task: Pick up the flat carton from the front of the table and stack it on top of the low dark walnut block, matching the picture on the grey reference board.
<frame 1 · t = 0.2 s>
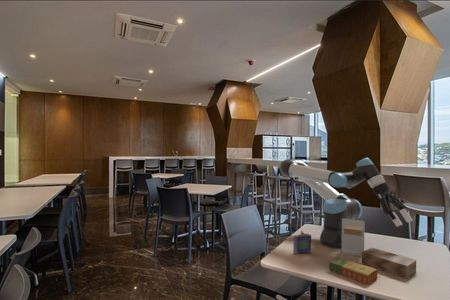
hand: (405, 223, 132), 15 cm above the table, tool tilted 35°, fingers open, 13 cm apart
reference board: (352, 253, 133), on the table
flask: (301, 253, 133), on the table
carton: (352, 275, 111), on the table
walnut block: (387, 267, 118), on the table
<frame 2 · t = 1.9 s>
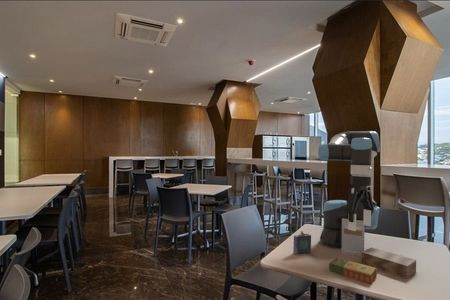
hand: (359, 227, 111), 19 cm above the table, tool pointing down, fingers open, 13 cm apart
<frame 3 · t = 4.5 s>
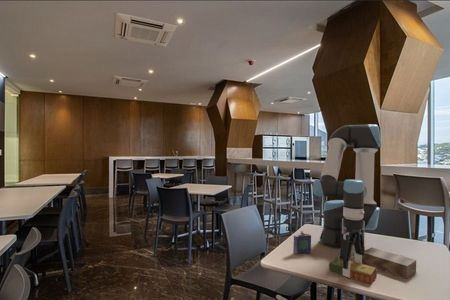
hand: (352, 273, 111), 0 cm above the table, tool pointing down, fingers closed on carton, 9 cm apart
carton: (352, 275, 111), on the table, touching gripper
everything else where it was.
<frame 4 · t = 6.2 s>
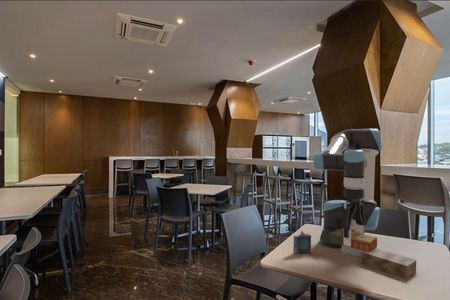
hand: (352, 242, 111), 13 cm above the table, tool pointing down, fingers closed on carton, 9 cm apart
carton: (352, 245, 111), point 12 cm above the table, touching gripper
everything else where it was.
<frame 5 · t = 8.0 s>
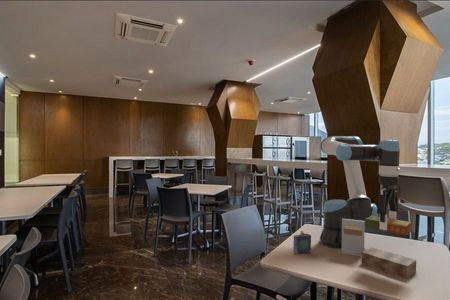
hand: (387, 227, 118), 17 cm above the table, tool pointing down, fingers closed on carton, 9 cm apart
carton: (387, 230, 118), point 16 cm above the table, touching gripper
everything else where it was.
when the fingers open (7 cm above the table, at t = 10.4 s): carton drops 2 cm, resting on walnut block.
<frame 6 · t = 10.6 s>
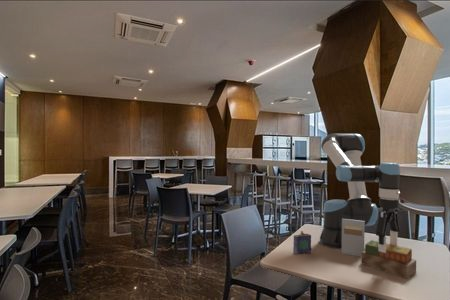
hand: (388, 248, 118), 8 cm above the table, tool pointing down, fingers open, 11 cm apart
carton: (387, 256, 118), point 5 cm above the table, touching walnut block
everything else where it was.
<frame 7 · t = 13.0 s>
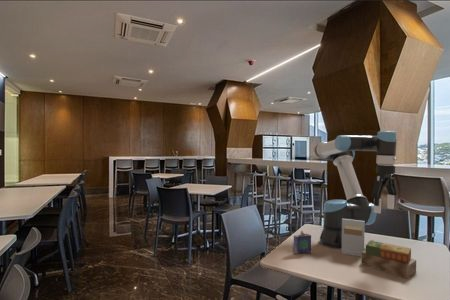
hand: (384, 210, 125), 23 cm above the table, tool pointing down, fingers open, 13 cm apart
nothing on the table moved.
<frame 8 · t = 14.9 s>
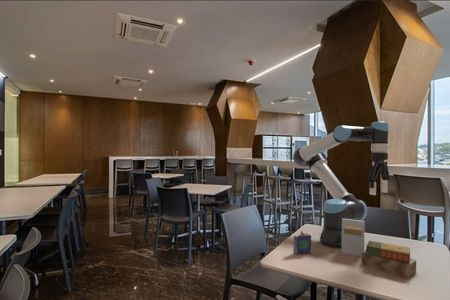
hand: (378, 193, 139), 29 cm above the table, tool pointing down, fingers open, 13 cm apart
nothing on the table moved.
at the end: carton inside the target area on the walnut block (0.2 cm from its centre), point 4.8 cm above the walnut block's base; carton tilted 0°; the gripper is holding nothing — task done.
